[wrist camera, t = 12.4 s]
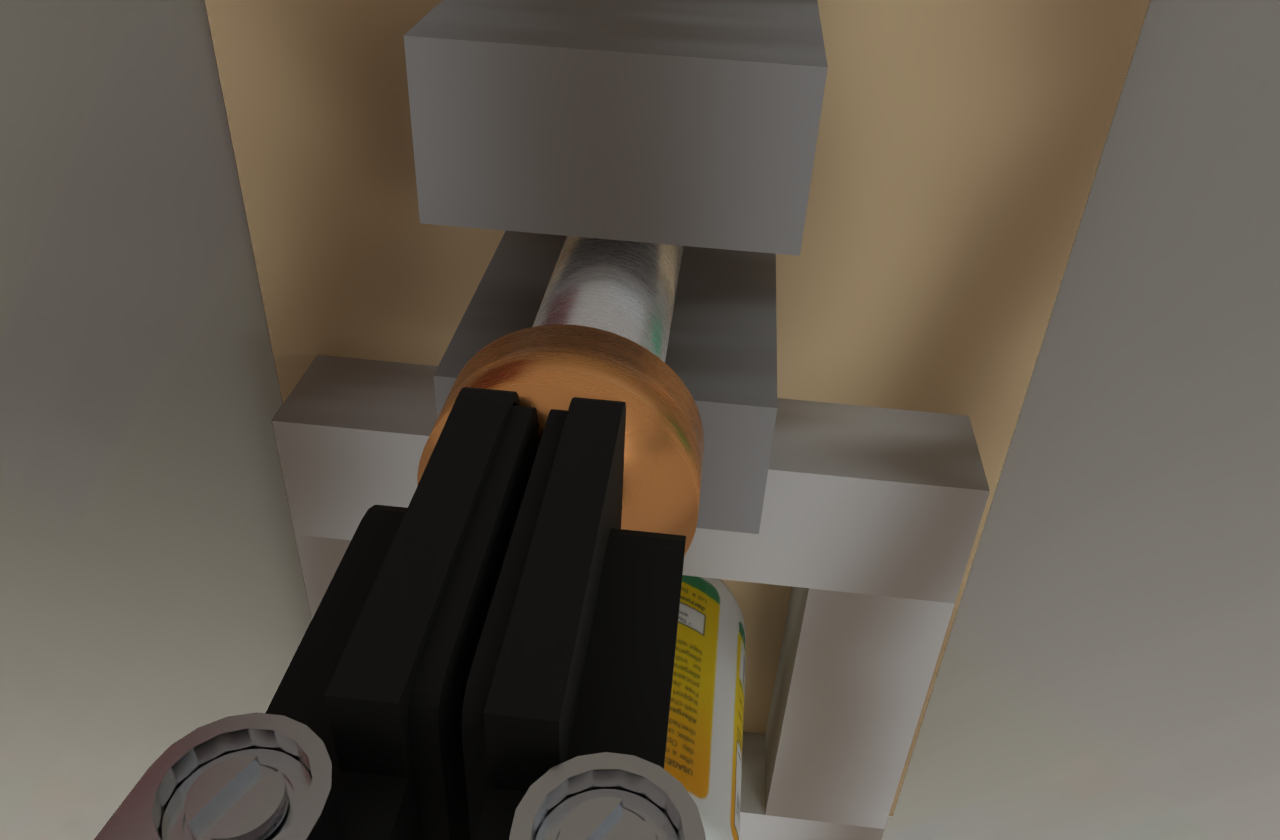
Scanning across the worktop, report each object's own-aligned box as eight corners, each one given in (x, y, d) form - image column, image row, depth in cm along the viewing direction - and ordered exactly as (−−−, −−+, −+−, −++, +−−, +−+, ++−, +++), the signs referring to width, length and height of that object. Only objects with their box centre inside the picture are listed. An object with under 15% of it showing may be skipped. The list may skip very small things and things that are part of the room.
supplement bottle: (783, 650, 26) (788, 1058, 18) (606, 708, 28) (543, 1097, 20) (676, 504, 24) (630, 901, 16) (491, 577, 26) (369, 963, 18)
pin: (735, 98, 17) (709, 401, 10) (720, 258, 19) (688, 619, 12) (561, 84, 18) (404, 372, 10) (560, 244, 19) (428, 590, 12)
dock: (1145, -57, 17) (1335, 67, 11) (889, 785, 30) (917, 1037, 25) (210, -118, 18) (-52, -33, 12) (360, 724, 31) (269, 953, 26)
